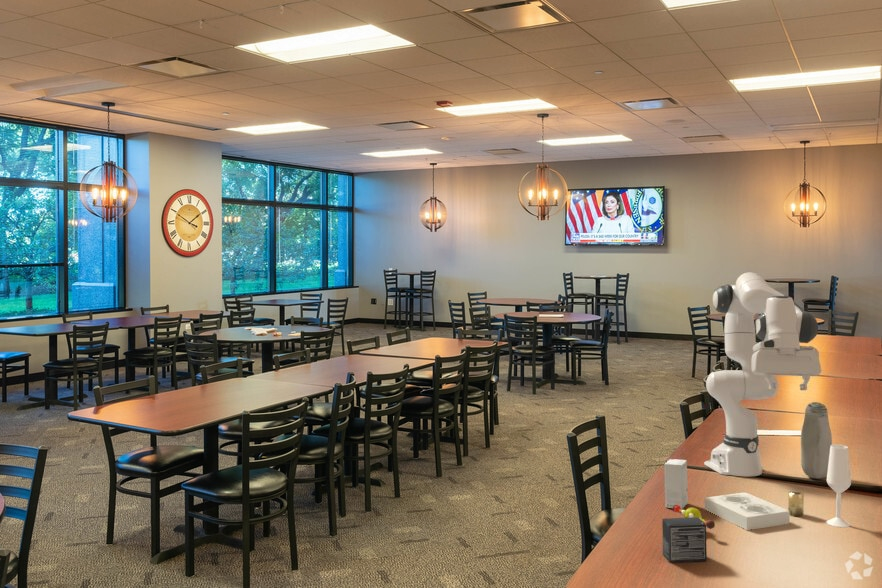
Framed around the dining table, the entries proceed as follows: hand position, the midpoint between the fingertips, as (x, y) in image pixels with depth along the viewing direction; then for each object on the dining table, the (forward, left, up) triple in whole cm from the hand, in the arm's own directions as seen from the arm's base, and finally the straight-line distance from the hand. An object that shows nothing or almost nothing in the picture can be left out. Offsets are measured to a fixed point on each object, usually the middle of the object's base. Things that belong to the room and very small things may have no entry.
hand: (788, 389), depth 235 cm
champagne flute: (+5, +14, -42) cm, 45 cm away
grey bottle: (-35, +45, -42) cm, 70 cm away
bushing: (-6, +8, -42) cm, 43 cm away
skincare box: (-27, -22, -42) cm, 54 cm away
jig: (-10, -8, -42) cm, 44 cm away
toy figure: (-6, -31, -42) cm, 52 cm away
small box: (+11, -46, -42) cm, 63 cm away
